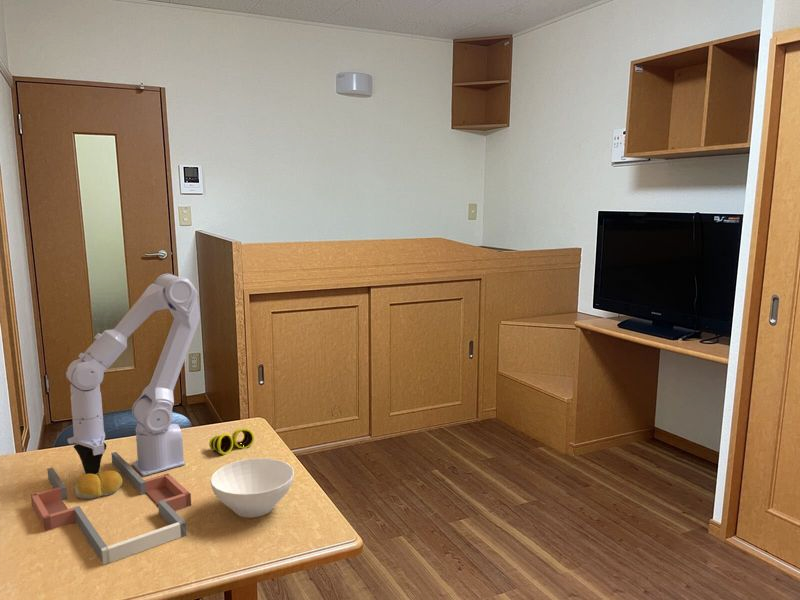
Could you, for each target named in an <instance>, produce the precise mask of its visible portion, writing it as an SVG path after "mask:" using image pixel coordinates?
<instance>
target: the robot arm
mask: <svg viewBox="0 0 800 600" xmlns="http://www.w3.org/2000/svg"><path fill="white" fill-rule="evenodd" d="M198 294H199V292H198V290H197V288H196V287H195V286H194V284H193V283H192V281H191V280H189V279H188V278H187V277H181V276H177V275H174V274H172V273H163V274H161V275H159V276H158V277H157V278H156V279H155V281H154V283H151V284H149V286H147V287H146V289H145V291H144V292H143V293H142V294H141V295H140V297H139V298H138V299H137V301H136V302H134V304H133V305H132V307H131V308H130V309H129V310H128V311H127V313H126V314H125V315H124V316H123V317H122V318H121V320H120V321H119V322H118V324H117V325H116V326H115V327H114V328H111V329H105V330H104V331H103V332H102V333H99V332H97V334H96V335H95V336H94V339H95V340H94V341H93V342H92V344H90V346H88V347H87V349H86V350H85V351H84V352H80V353H79V354H78V359H75V360H73V361H72V362H71V363H70V364H69V365H68V367H67V371H66V372H65V376H66V379H67V380H68V381H69V382H70V403H71V405H70V406H71V417H72V429H73V431H72V432H73V436H72V437H68V438H67V443H68V444H70V445H73V444H75V445H73V449H74V450H75V451H76V453H77V454H78V456H79V458H80V461H81V465H82V467H83V471H84V474H97V473H98V472H100V468H101V462H102V458H103V455H104V454H105V451H106V450H107V444H106V442H105V439H106V432H105V428H104V426H105V425H104V415H103V412H104V411H103V403H102V402H103V401H102V399H103V398H102V392H101V384H102V383H103V380H104V377H105V376H104V372H106V371H107V370H108V369H109V368H110V367H111V366H112V365H113V363H115V361H116V360H117V359H118V358H119V357H120V356H121V355H122V353H124V351H125V350H126V349H127V348H128V338H129V337H130V336H131V335H132V334H134V332H135V330H137V329H138V328H139V327H140V326H141V325H142V324H143V323H144V322H145V321H146V320H147V319H148V318H149V317H150V316H151V315H152V314H153V313H154V312H156V311H163V310H167V309H168V310H169V312H170V314H171V315H172V318H173V321H172V323H171V324H172V325H170V326H171V327H170V329H169V332H168V334H167V338H166V339H165V342H164V345H163V347H162V351H161V353H160V355H159V358H158V362H157V363H156V366H155V369H154V372H153V375H152V377H151V380H150V383H149V384H148V385H147V386H146V387H145V388H144V389H143V390H142V393H141V395H140V396H139V397H138V398H137V399H136V400H135V401H134V402H133V405H132V407H131V413H132V416H133V418H134V419H135V420H136V421H137V425H136V426H135V427H136V428H135V439H136V440H135V441H136V457H137V460H136V461H133V462H132V463H131V465H132V467H133V468H134V469H135V470H137V471H138V472H139V473H140V475H142V476H143V477H145V476H149V475H152V474H156V473H159V472H163V471H166V470H169V469H174V468H177V467H180V466H184V465H186V462H185V460H184V459H185V458H184V440H183V439H184V438H183V433H182V430H181V429H182V428H180V426H179V424H178V423H172V422H173V416H174V415H173V407H174V405H175V404H174V403H175V400H174V399H175V397H174V390H175V387H176V384H177V381H178V379H179V376H180V373H181V371H182V368H183V366H184V362H185V360H186V357H187V354H188V352H189V350H190V346H191V344H192V341H193V339H194V335H195V333H196V331H197V327H198V325H199V322H200V319H201V314H200V310H199V309H200V308H199V307H200V306H199V303H198Z"/></svg>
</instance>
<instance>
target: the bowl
mask: <svg viewBox="0 0 800 600" xmlns="http://www.w3.org/2000/svg"><path fill="white" fill-rule="evenodd" d="M294 477H295V470H294V468H293V466H291V465H290V464H289V463H287V462H286V461H282V460H279V459H275V458H270V457H269V458H264V457H258V458H246V459H242V460H237V461H234V462H230V463H227V464H226V465H224V466H222V467H219V468H217V469H216V470H215V471H214V472H213V474H211V476H210V486H211V489H212V491H213V494H214V495H215V497H216V498H217V499H218V500H219V501H220V502H221V503H222V504H224V505H225V506H227V507H228V508H229V509H230V510H232V511H233V512H234V514H236V515H237V516H239V517H241V518H247V519H248V518H249V519H253V518H260V517H264V516H265V515H267V514H268V513H270V512H271V511H273V509H274V507H276V505H277V504H278V503H279V502H280V500H282V499H283V498H284V497H285V495H286V494H287V493H288V491H289V490H290V488H291V486H292V484H293V483H294V480H295V479H294Z"/></svg>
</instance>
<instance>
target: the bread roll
mask: <svg viewBox="0 0 800 600" xmlns="http://www.w3.org/2000/svg"><path fill="white" fill-rule="evenodd" d="M122 485H123V478H122V474H120V473H119V472H118V471H116V470H111V469H108V470H102V471H99V472H98V473H97V474H85V473H84V474H82V475H80V476H79V477H78V478H77V479H76V481H75V483H74V486H75V487H74V492H73V493H74V495H75V497H76V498H77V499H80V500H92V499H96V498H100V497H102V496H104V497H105V496H106V497H107V496H110V495H113V494H114V493H116V492H117V491H119V489H120V488H121V487H122Z"/></svg>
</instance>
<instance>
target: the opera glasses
mask: <svg viewBox="0 0 800 600" xmlns="http://www.w3.org/2000/svg"><path fill="white" fill-rule="evenodd" d="M240 433H243V439H242V440H240V441H237V437H238V435H239V434H240ZM254 441H255V435H254V433H253V431H252V430H251V429H249V428H245V427H243V428H240V429H236V430H235V431H233V433H232V434H230V433H226V432H225V433H222V434H219V435H214V436H212V437H211V438H210V440H209V448H210V450H212V451H215V450H216V452H217V453H220V454H221V455H223V456H224V455H225V454H226V455H228V454H229V453H231V451H232V450H233V447H234V445H235V446H236V447H237V448H238V449H240V448H245V449H248V448H249V447H251V446H252V445H253V443H254ZM240 443H242V444H240ZM243 445H244V447H243ZM247 447H248V448H247ZM227 453H228V454H227Z"/></svg>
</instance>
